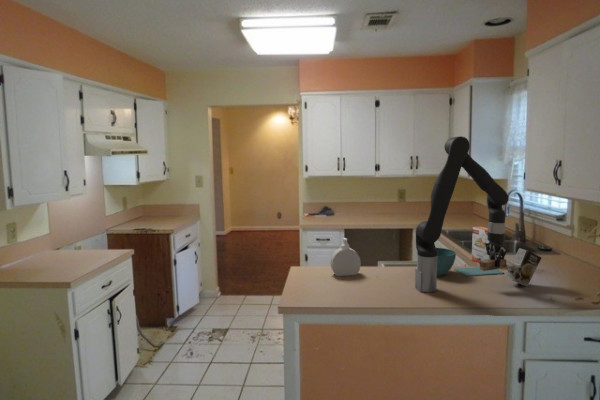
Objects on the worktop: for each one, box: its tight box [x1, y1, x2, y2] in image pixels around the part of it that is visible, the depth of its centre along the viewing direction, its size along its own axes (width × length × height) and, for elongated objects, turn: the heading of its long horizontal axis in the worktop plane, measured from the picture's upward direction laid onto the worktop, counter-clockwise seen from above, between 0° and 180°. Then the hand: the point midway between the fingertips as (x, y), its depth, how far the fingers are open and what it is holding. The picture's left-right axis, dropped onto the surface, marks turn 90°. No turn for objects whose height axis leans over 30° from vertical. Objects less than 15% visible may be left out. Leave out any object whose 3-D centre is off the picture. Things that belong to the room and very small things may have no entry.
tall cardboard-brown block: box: [479, 258, 521, 271], centre depth 192 cm, size 18×7×4 cm, turn 98°
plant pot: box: [436, 247, 457, 277], centre depth 216 cm, size 18×18×12 cm
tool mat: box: [453, 266, 504, 277], centre depth 218 cm, size 22×12×1 cm, turn 98°
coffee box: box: [504, 247, 542, 288], centre depth 195 cm, size 9×6×16 cm
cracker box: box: [471, 225, 490, 264], centre depth 232 cm, size 14×6×21 cm, turn 17°
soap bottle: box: [329, 237, 362, 277], centre depth 217 cm, size 16×5×20 cm, turn 97°
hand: (494, 265), depth 192 cm, fingers closed on tall cardboard-brown block, 3 cm apart
